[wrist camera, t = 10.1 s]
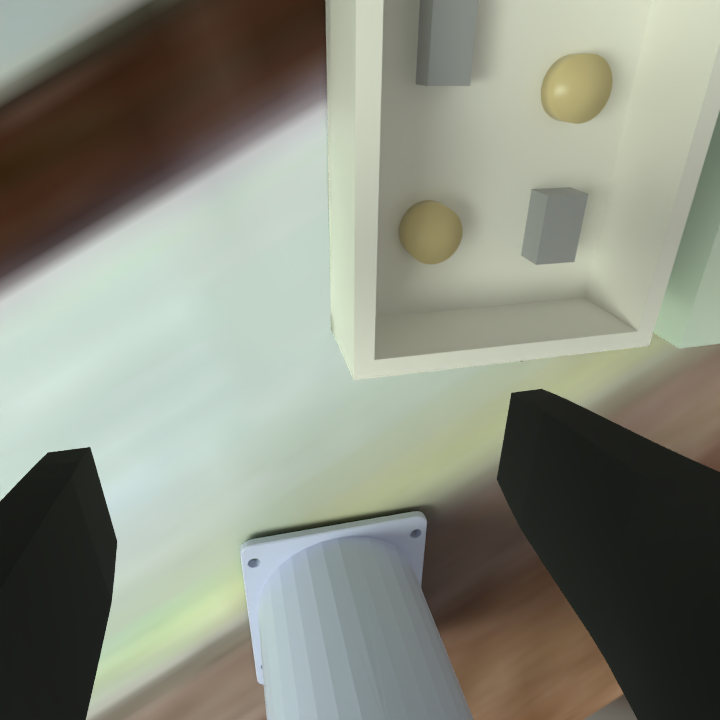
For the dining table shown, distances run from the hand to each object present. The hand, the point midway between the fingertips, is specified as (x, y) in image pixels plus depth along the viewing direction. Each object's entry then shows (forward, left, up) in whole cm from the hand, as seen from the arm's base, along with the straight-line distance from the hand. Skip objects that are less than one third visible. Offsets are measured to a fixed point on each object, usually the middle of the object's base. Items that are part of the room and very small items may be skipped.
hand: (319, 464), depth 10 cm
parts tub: (+4, -7, -9) cm, 12 cm away
